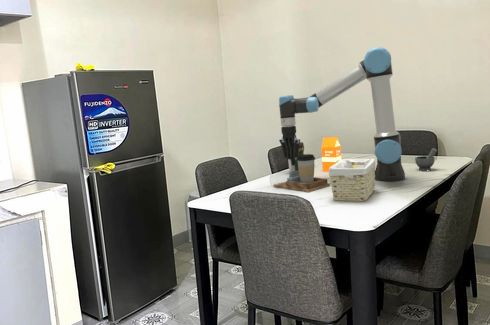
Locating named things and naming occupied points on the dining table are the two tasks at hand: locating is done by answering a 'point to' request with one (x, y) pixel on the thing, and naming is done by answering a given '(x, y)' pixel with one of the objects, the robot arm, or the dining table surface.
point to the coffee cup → (306, 167)
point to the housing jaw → (294, 176)
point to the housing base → (304, 185)
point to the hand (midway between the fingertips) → (292, 171)
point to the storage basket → (352, 179)
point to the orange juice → (330, 152)
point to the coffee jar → (300, 152)
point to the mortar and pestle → (426, 161)
